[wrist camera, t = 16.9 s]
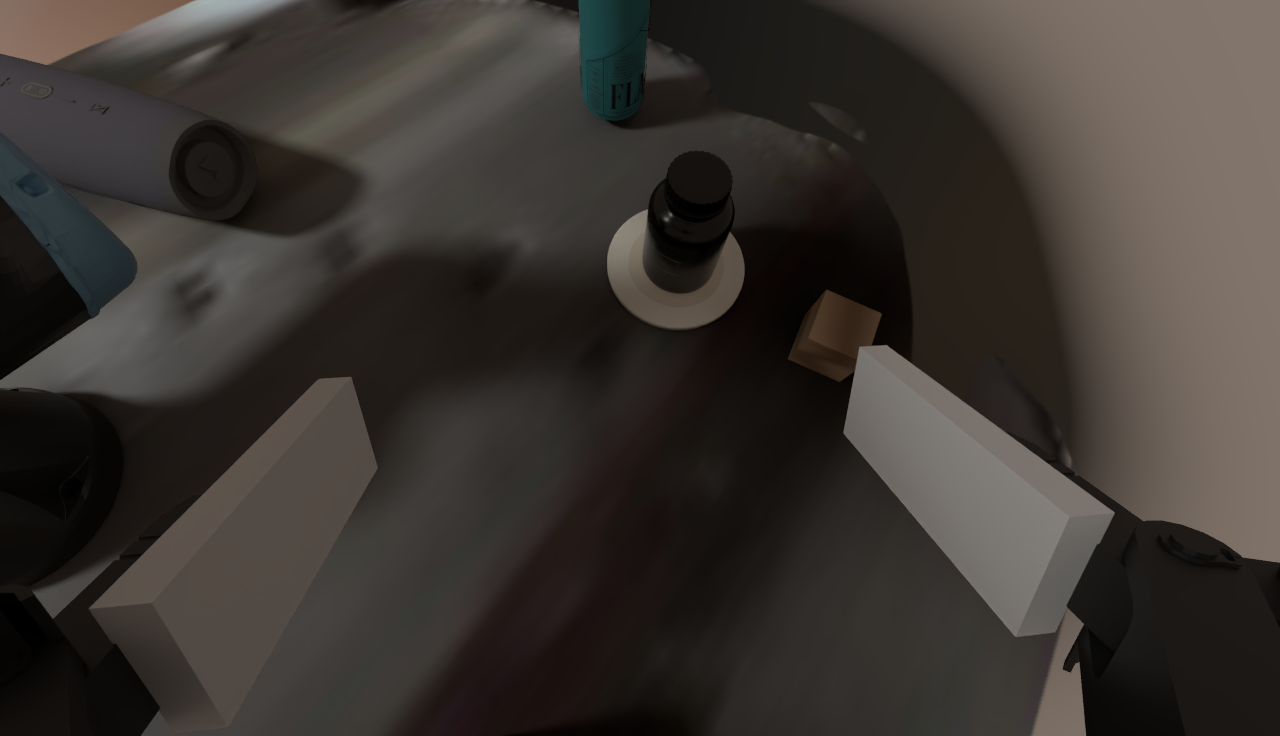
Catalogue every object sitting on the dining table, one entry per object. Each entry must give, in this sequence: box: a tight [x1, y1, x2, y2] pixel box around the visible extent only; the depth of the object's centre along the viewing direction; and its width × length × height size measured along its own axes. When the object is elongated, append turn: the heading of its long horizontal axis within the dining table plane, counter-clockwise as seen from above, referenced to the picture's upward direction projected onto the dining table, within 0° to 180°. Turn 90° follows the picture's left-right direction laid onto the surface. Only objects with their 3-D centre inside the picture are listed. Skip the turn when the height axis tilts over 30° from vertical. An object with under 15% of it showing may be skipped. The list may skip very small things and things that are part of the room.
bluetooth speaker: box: [0, 54, 257, 220], centre depth 44 cm, size 23×9×10 cm, turn 74°
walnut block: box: [788, 290, 882, 382], centre depth 45 cm, size 5×5×5 cm
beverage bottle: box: [579, 0, 651, 121], centre depth 46 cm, size 6×7×20 cm
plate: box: [607, 210, 745, 331], centre depth 49 cm, size 13×13×1 cm
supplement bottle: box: [642, 151, 735, 294], centre depth 43 cm, size 7×7×12 cm
